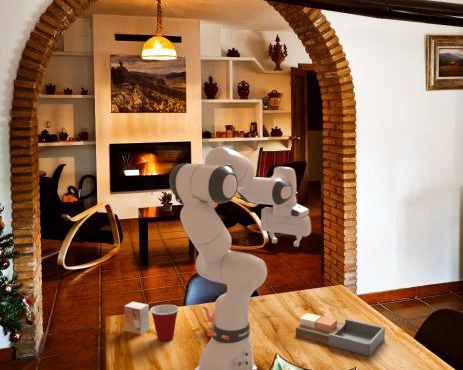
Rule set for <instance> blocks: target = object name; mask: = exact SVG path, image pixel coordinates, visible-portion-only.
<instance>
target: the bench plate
mask: <svg viewBox="0 0 463 370" xmlns="http://www.w3.org/2000/svg"><path fill="white" fill-rule="evenodd" d="M345 330H346V324H345V323H343V322H339V321H337V327H336V328H335V329H333V330H332V331H331V332H328V331H324V330H320V329H316V327H315V328H312V327H308V326H304V325H300V324H299V325H297V326H296V327H295V336H298V337H301V338H306V339H309V340H312V341H316V342H319V343H323V344H327V343H328V344H327V345H329V334H334V335H338V336H340V335H341V334H342V333H343V332H344V331H345Z"/></svg>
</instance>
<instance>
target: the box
mask: <svg viewBox="0 0 463 370" xmlns="http://www.w3.org/2000/svg"><path fill="white" fill-rule="evenodd" d="M344 324H346V330H345V331H344V332H343V333H342V334H341V335H340V336H338V335H334V334H329V344H328V347H330V346H331V348H334V347H335V349H337V348H338V349H337V350H341V349H342V351H345V352H350V353H353V354H356V355H360V356H363V355H364V356H363V357H367V358H370V357H371V356H372V355H373V354H374V352H376V350H377V349H378V348H377V347H380V346H381V344H382V343H383V342H384V341H385V340H386V339H385V338H386V337H385V331H386V328H385V327H383V326H379V325H374V324H370V323H366V322H362V321H358V320H354V319H353V320H352V319H348V318H345V319H344ZM382 341H383V342H382ZM381 342H382V343H381Z"/></svg>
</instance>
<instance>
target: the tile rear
mask: <svg viewBox="0 0 463 370" xmlns="http://www.w3.org/2000/svg"><path fill="white" fill-rule="evenodd" d="M321 317H322V315H318V314H315V313H309V312H306V313H305V314H303V315H302V316H301V317H300V318H299V325H304V326H308V327H312V328H315V327H316V321H318V320H319V319H320V318H321Z"/></svg>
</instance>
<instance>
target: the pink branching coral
mask: <svg viewBox="0 0 463 370" xmlns="http://www.w3.org/2000/svg"><path fill="white" fill-rule="evenodd" d="M200 307H201V308H203V309H204V311H205V314H206V319H207V321H208V322H210V323H211V330H212V331H213V327H214V323H215V308H214V310H213V313H212V314H211V312H210V310H209V307H208V306H206V305H200Z"/></svg>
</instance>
